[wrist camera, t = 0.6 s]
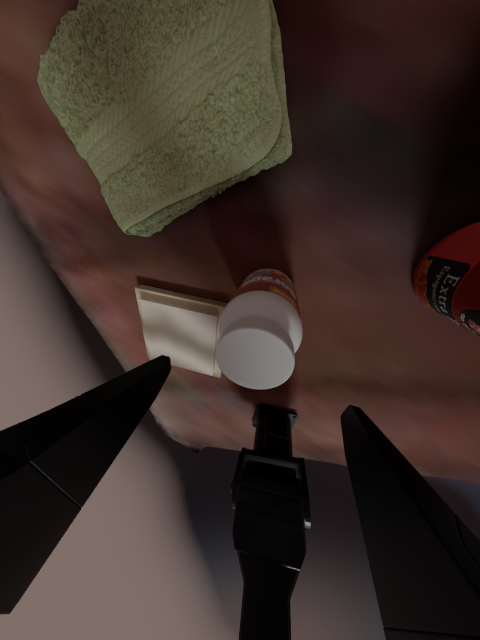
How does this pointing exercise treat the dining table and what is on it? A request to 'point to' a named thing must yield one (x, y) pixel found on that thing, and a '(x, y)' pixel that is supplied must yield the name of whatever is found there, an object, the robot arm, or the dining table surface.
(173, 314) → the stand
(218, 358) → the pill bottle
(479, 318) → the canned food
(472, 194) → the dining table surface
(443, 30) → the dining table surface
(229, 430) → the dining table surface
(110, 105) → the washcloth
